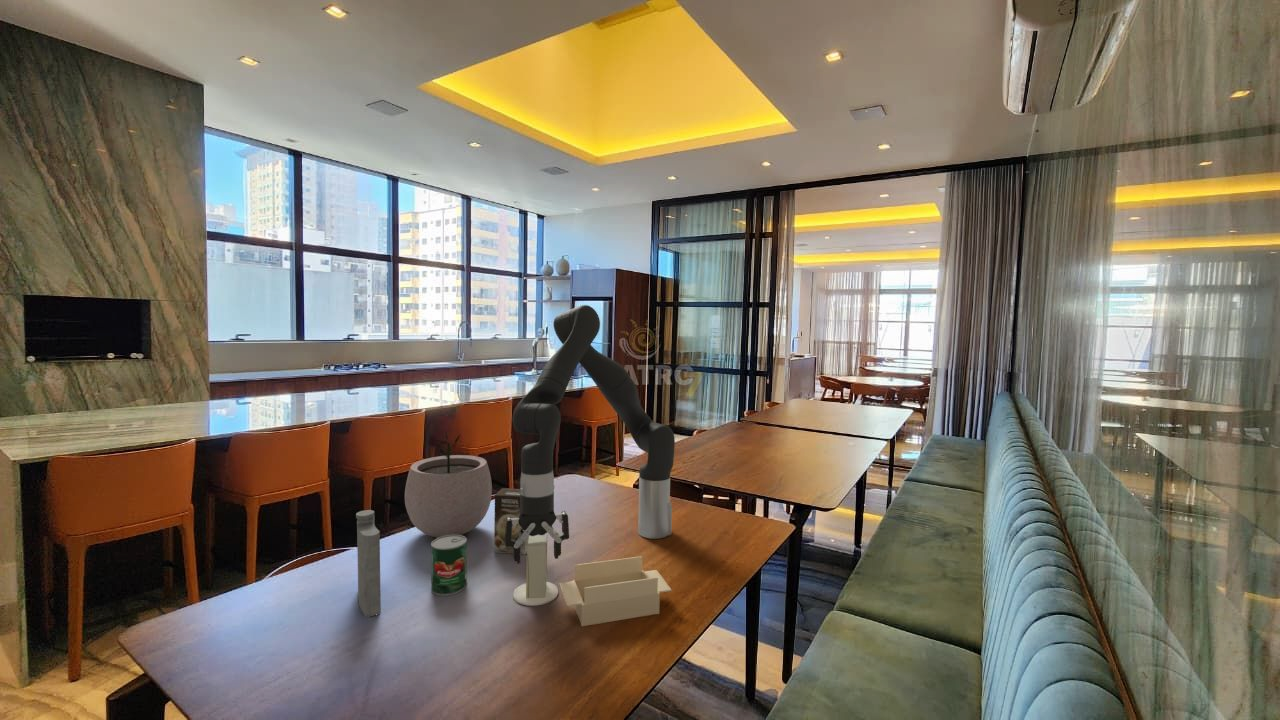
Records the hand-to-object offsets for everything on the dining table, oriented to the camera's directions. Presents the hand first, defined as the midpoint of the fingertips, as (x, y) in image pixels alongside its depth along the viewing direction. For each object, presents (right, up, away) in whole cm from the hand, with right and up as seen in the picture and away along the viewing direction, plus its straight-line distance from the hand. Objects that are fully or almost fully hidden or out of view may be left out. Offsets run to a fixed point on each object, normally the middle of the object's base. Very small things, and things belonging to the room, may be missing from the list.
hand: (537, 559), depth 119 cm
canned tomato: (-21, -8, +3) cm, 23 cm away
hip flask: (-37, -8, -3) cm, 38 cm away
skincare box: (0, -8, +1) cm, 8 cm away
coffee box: (-11, -7, +24) cm, 28 cm away
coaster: (0, -8, +1) cm, 8 cm away
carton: (+18, -9, -4) cm, 20 cm away
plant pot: (-33, -6, +34) cm, 47 cm away
